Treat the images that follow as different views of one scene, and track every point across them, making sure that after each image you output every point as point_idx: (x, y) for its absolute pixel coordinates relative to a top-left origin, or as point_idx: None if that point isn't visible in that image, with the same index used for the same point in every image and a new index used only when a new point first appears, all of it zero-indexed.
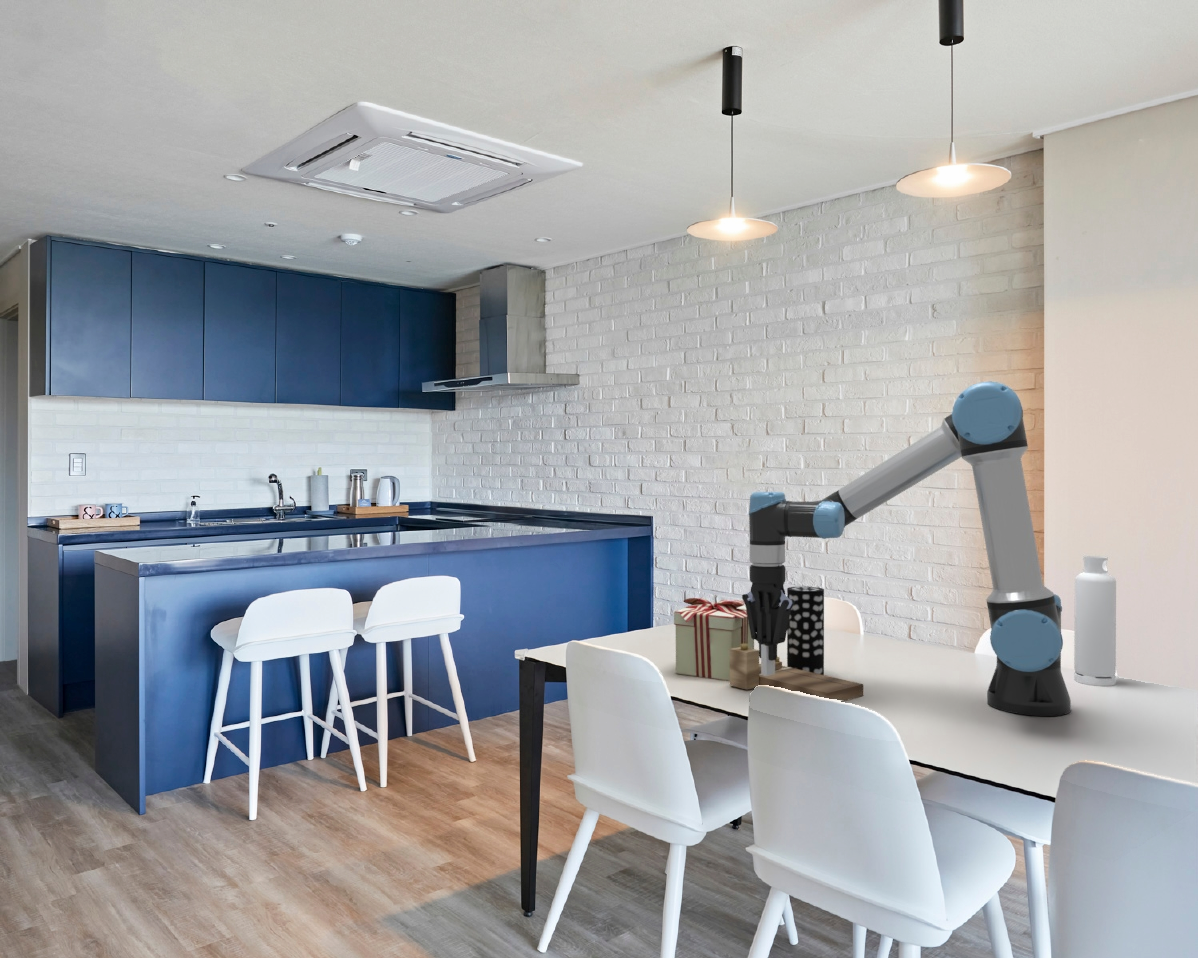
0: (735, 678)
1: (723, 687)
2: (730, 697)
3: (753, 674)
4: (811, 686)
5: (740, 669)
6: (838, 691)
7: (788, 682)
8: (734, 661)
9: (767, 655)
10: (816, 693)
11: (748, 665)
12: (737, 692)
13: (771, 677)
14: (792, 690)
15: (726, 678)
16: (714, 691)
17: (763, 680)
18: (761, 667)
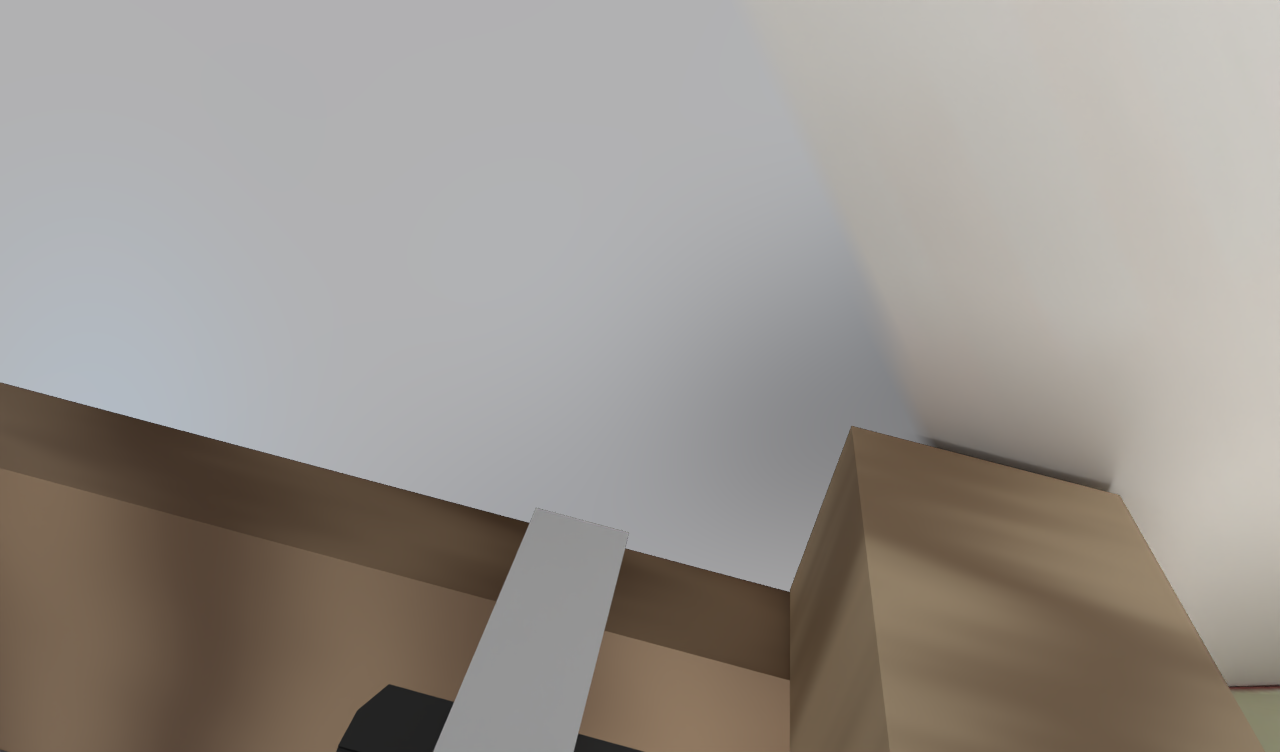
0: (1049, 529)
1: (1172, 418)
2: (886, 37)
3: (819, 621)
4: (143, 577)
5: (987, 595)
6: None
7: (401, 605)
8: (1140, 699)
9: (437, 746)
10: (25, 449)
11: (857, 644)
12: (916, 310)
13: (660, 699)
14: (346, 514)
15: (1261, 703)
16: (1215, 183)
17: (736, 640)
18: (607, 600)
